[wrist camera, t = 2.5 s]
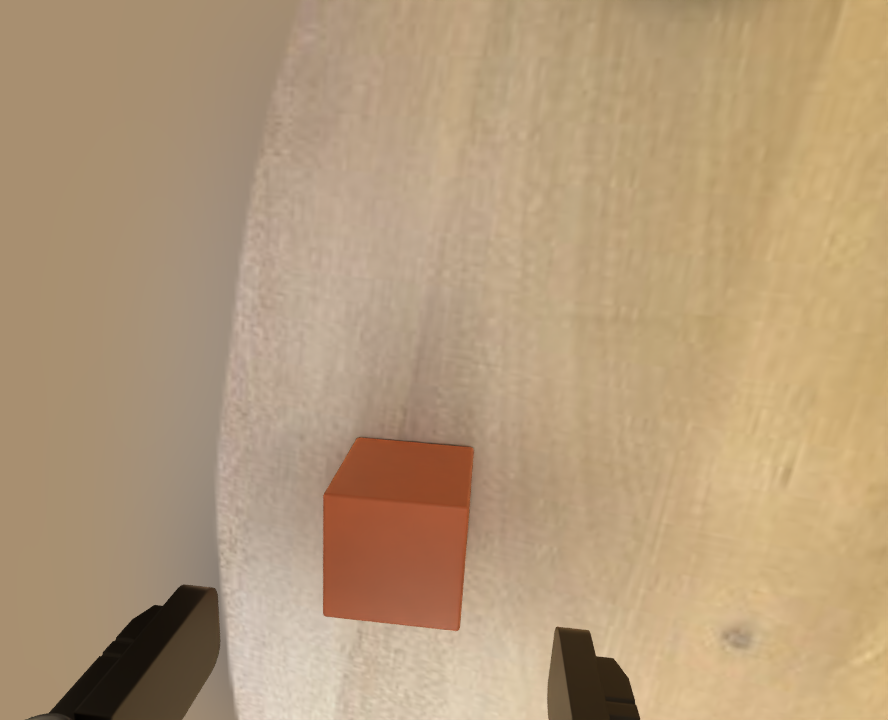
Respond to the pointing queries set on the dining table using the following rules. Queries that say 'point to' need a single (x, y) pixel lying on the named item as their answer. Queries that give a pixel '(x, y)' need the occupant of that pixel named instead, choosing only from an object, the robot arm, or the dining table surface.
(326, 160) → the dining table surface
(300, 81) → the dining table surface
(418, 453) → the terracotta block
